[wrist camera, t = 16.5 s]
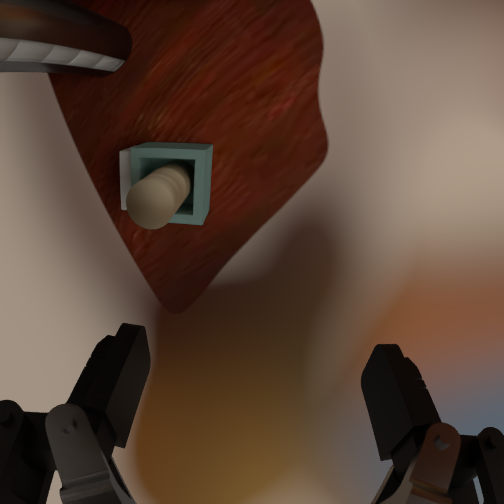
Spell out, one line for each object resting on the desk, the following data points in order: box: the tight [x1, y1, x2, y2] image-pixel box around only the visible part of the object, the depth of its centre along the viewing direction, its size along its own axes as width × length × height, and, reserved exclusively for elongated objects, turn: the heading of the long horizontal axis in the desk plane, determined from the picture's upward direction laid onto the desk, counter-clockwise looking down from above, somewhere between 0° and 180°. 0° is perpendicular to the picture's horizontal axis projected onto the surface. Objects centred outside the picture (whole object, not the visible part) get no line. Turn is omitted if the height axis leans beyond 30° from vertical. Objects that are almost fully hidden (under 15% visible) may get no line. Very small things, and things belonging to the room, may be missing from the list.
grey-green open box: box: [131, 142, 213, 225], centre depth 29 cm, size 7×7×4 cm
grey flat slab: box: [120, 146, 135, 210], centre depth 29 cm, size 6×1×4 cm, turn 175°
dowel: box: [126, 159, 195, 229], centre depth 26 cm, size 4×4×9 cm
